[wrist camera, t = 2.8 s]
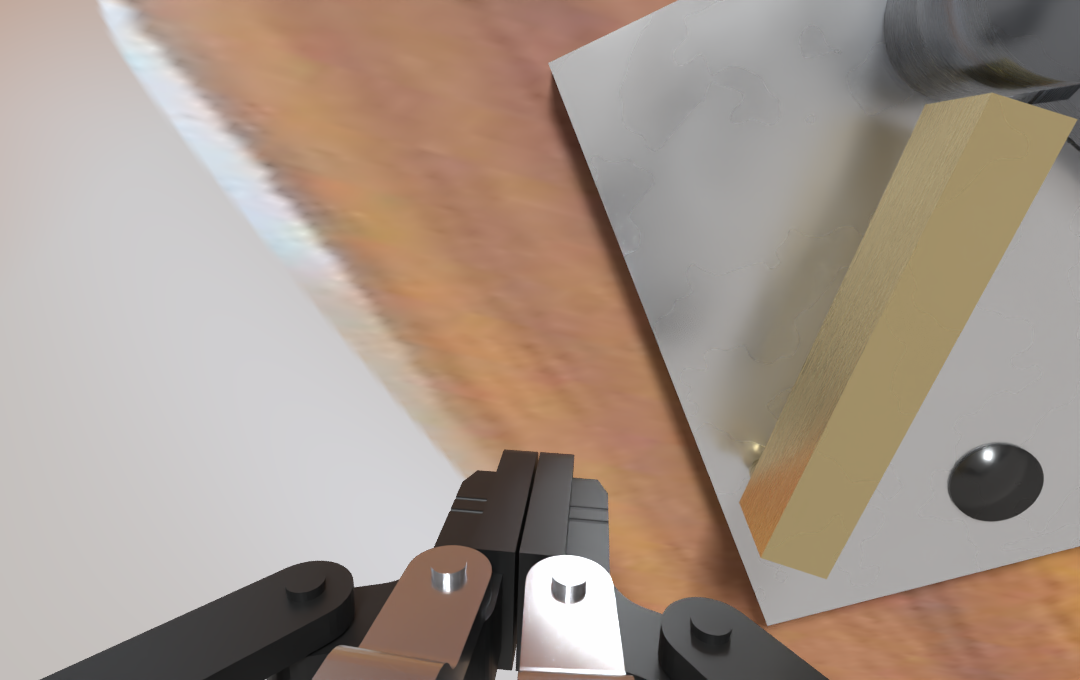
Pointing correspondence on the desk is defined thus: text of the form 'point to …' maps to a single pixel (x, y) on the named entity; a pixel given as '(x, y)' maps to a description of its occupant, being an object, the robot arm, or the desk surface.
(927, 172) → the leg
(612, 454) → the desk surface
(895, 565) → the mounting plate
